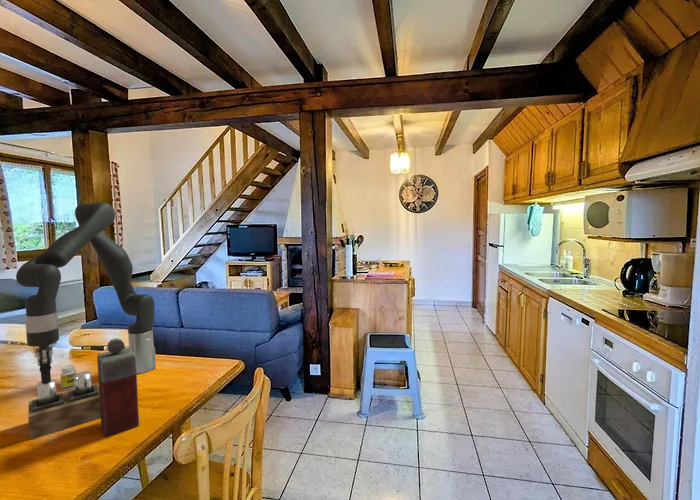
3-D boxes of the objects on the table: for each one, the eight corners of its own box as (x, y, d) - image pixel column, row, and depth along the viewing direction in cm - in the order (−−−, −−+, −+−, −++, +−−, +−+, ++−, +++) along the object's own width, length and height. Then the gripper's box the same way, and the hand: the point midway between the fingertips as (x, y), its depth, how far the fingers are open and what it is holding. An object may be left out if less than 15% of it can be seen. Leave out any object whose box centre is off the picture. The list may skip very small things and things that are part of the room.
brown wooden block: (98, 403, 124) (97, 381, 123) (103, 416, 115) (102, 393, 114) (30, 422, 112) (28, 398, 111) (29, 439, 103) (28, 413, 102)
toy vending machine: (132, 411, 118) (128, 331, 116) (139, 426, 110) (135, 339, 107) (100, 421, 112) (95, 337, 110) (105, 437, 104) (99, 346, 101)
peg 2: (91, 389, 119) (89, 370, 118) (92, 394, 115) (91, 374, 115) (74, 393, 116) (73, 373, 115) (75, 398, 112) (74, 378, 112)
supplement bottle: (68, 391, 132) (66, 369, 132) (58, 390, 133) (56, 368, 133) (80, 385, 137) (78, 364, 136) (70, 384, 138) (69, 363, 137)
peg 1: (56, 398, 113) (55, 378, 112) (57, 403, 109) (55, 382, 109) (38, 402, 110) (37, 382, 109) (38, 408, 106) (37, 387, 106)
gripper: (59, 330, 105) (63, 385, 107) (57, 321, 115) (60, 372, 116) (25, 335, 100) (29, 393, 102) (26, 325, 110) (30, 378, 111)
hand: (46, 381), depth 109 cm, fingers closed
